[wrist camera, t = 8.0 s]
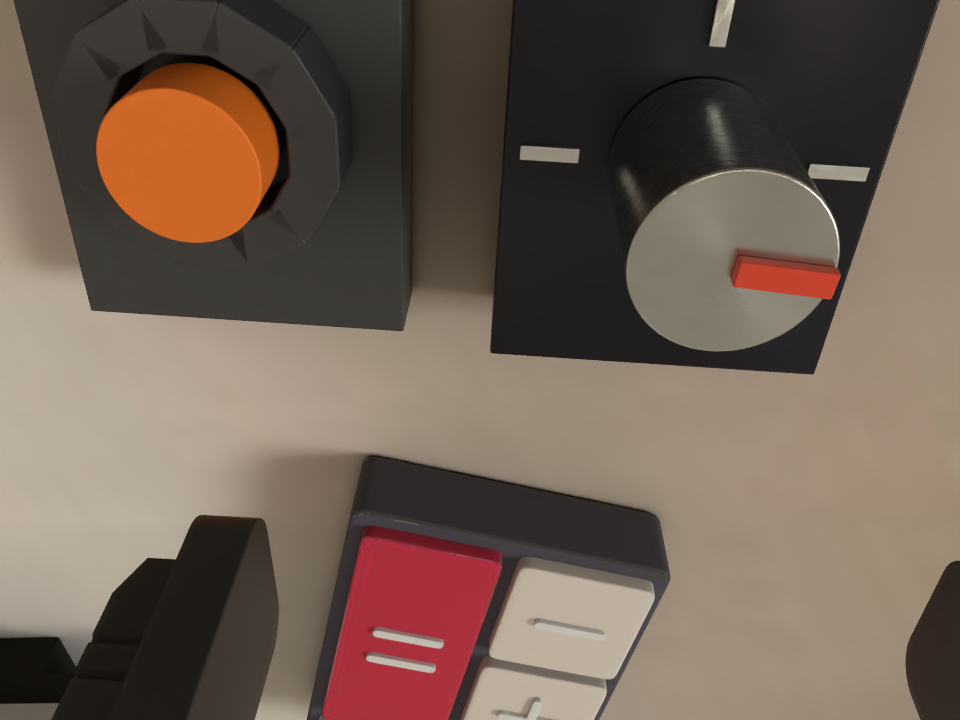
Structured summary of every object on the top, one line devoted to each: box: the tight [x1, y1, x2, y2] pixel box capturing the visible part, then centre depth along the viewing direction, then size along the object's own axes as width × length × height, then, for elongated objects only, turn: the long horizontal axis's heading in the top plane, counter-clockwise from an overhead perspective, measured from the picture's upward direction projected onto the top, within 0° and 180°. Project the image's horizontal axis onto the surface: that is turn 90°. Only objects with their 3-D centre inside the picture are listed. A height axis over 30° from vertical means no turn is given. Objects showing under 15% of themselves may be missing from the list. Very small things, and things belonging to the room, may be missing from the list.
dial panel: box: [490, 0, 939, 374], centre depth 22 cm, size 12×9×3 cm
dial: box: [608, 78, 841, 351], centre depth 19 cm, size 4×4×5 cm
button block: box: [14, 0, 412, 331], centre depth 22 cm, size 12×9×4 cm
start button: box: [96, 63, 280, 243], centre depth 20 cm, size 4×4×2 cm
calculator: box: [307, 457, 670, 720], centre depth 34 cm, size 11×4×15 cm
